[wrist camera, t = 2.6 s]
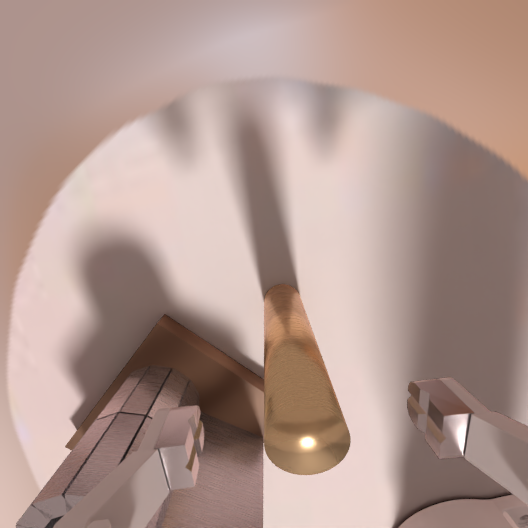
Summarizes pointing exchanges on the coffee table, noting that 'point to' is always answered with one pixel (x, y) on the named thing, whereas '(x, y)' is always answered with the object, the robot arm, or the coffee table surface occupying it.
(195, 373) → the base board
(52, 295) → the coffee table surface
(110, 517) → the robot arm
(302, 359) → the pin
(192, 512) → the grey socket block
